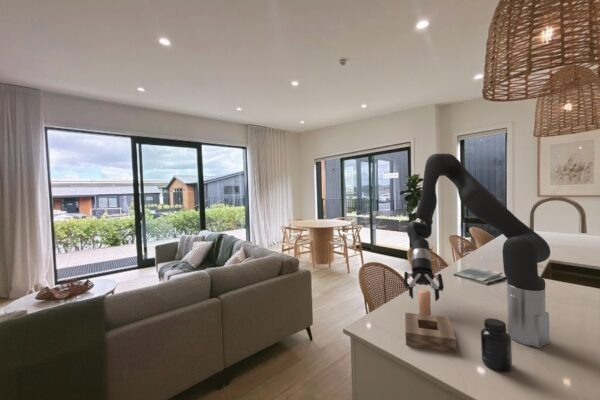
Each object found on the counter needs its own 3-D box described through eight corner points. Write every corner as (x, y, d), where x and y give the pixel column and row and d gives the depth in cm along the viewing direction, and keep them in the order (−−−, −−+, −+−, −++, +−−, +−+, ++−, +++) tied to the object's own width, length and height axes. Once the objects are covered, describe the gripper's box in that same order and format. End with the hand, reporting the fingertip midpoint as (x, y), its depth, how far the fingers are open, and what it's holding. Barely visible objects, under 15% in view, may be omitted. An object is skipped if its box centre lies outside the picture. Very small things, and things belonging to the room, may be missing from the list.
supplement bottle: (498, 355, 77) (497, 315, 76) (518, 372, 70) (518, 327, 70) (475, 357, 77) (474, 317, 76) (493, 373, 70) (492, 329, 69)
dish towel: (452, 276, 145) (452, 270, 145) (472, 270, 153) (472, 265, 153) (488, 286, 128) (488, 280, 128) (509, 280, 136) (509, 273, 136)
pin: (433, 318, 100) (432, 292, 100) (425, 321, 98) (425, 294, 98) (424, 314, 104) (423, 289, 103) (416, 316, 102) (416, 291, 102)
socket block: (448, 328, 92) (448, 317, 92) (456, 352, 79) (455, 339, 79) (405, 323, 98) (405, 312, 97) (406, 344, 84) (405, 332, 84)
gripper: (403, 256, 112) (404, 293, 102) (440, 257, 107) (446, 296, 97) (403, 264, 117) (404, 300, 107) (439, 266, 112) (444, 304, 102)
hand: (424, 298), depth 102 cm, fingers open, 8 cm apart
